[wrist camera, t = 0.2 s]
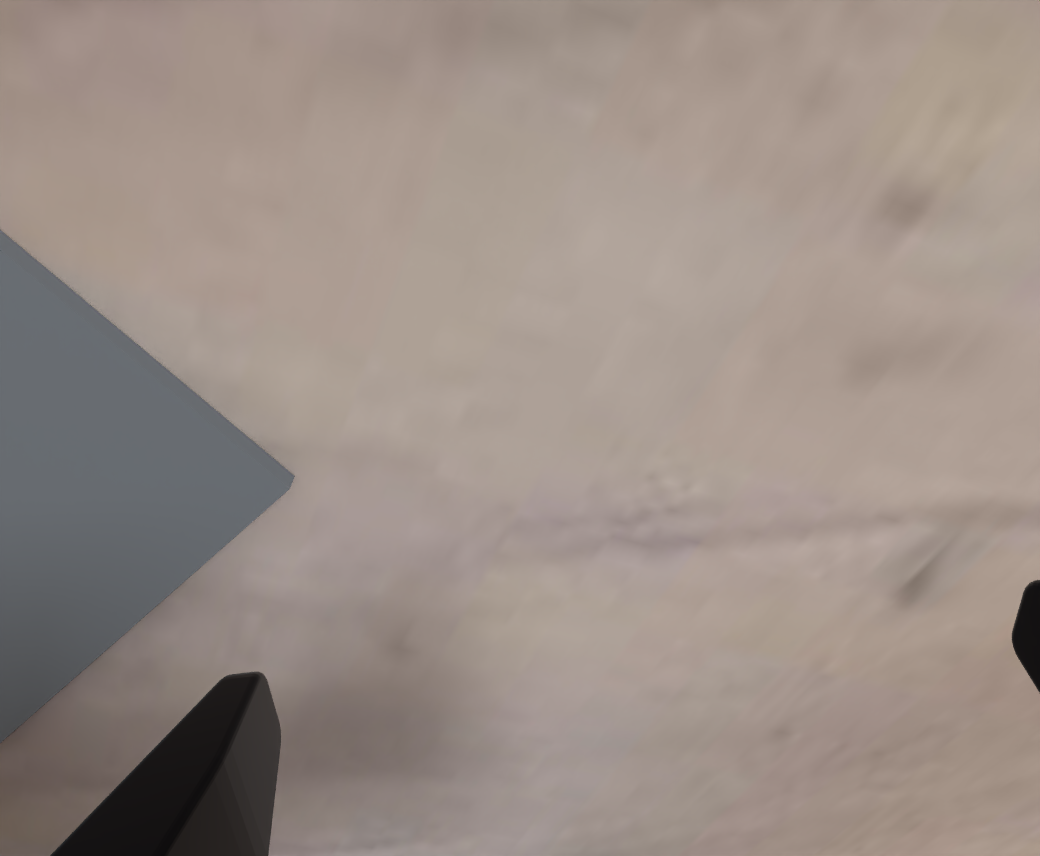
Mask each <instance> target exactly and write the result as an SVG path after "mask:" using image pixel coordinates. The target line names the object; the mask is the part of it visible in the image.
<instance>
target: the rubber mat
mask: <svg viewBox="0 0 1040 856" xmlns="http://www.w3.org/2000/svg"><path fill="white" fill-rule="evenodd" d="M294 477H295V476H294V475H293V474H291V473H290V472H289V471H288V470H287V469H286V468H284V467H283V466H282V465H281V464H280V463H278V462H277V461H276V460H275V459H274V458H272V457H271V456H270V455H269V454H268V453H266V452H265V451H264V450H263V449H262V448H260V447H259V446H258V445H257V444H256V443H254V442H253V441H252V440H251V439H250V438H248V437H247V436H246V435H245V434H244V433H242V432H241V431H240V430H239V429H238V428H236V427H235V426H234V425H233V424H232V423H231V422H229V421H228V420H227V419H226V418H225V417H223V416H222V415H221V414H220V413H219V412H217V411H216V410H215V409H214V408H213V407H211V406H210V405H209V404H208V403H207V402H205V401H204V400H203V399H202V398H201V397H199V396H198V395H197V394H196V393H195V392H193V391H192V390H191V389H190V388H189V387H187V386H186V385H185V384H184V383H183V382H182V381H180V380H179V379H178V378H177V377H176V376H174V375H173V374H172V373H171V372H170V371H168V370H167V369H166V368H165V367H164V366H162V365H161V364H160V363H159V362H158V361H156V360H155V359H154V358H153V357H152V356H150V355H149V354H148V353H147V352H146V351H144V350H143V349H142V348H141V347H140V346H138V345H137V344H136V343H135V342H134V341H132V340H131V339H130V338H129V337H128V336H127V335H125V334H124V333H123V332H122V331H121V330H119V329H118V328H117V327H116V326H115V325H113V324H112V323H111V322H110V321H109V320H107V319H106V318H105V317H104V316H103V315H101V314H100V313H99V312H98V311H97V310H95V309H94V308H93V307H92V306H91V305H89V304H88V303H87V302H86V301H85V300H83V299H82V298H81V297H80V296H79V295H77V294H76V293H75V292H74V291H73V290H72V289H70V288H69V287H68V286H67V285H66V284H64V283H63V282H62V281H61V280H60V279H58V278H57V277H56V276H55V275H54V274H52V273H51V272H50V271H49V270H48V269H46V268H45V267H44V266H43V265H42V264H40V263H39V262H38V261H37V260H36V259H34V258H33V257H32V256H31V255H30V254H28V253H27V252H26V251H25V250H24V249H22V248H21V247H20V246H19V245H18V244H17V243H15V242H14V241H13V240H12V239H11V238H9V237H8V236H7V235H6V234H5V233H3V232H2V231H1V230H0V743H1V742H2V741H3V740H4V739H5V738H7V737H8V736H9V735H10V734H11V733H12V732H13V731H15V730H16V729H17V728H18V727H19V726H20V725H21V724H23V723H24V722H25V721H26V720H27V719H28V718H29V717H31V716H32V715H33V714H34V713H35V712H36V711H37V710H38V709H40V708H41V707H42V706H43V705H44V704H45V703H46V702H48V701H49V700H50V699H51V698H52V697H53V696H54V695H56V694H57V693H58V692H59V691H60V690H61V689H62V688H64V687H65V686H66V685H67V684H68V683H69V682H70V681H72V680H73V679H74V678H75V677H76V676H77V675H78V674H79V673H81V672H82V671H83V670H84V669H85V668H86V667H87V666H89V665H90V664H91V663H92V662H93V661H94V660H95V659H97V658H98V657H99V656H100V655H101V654H102V653H103V652H105V651H106V650H107V649H108V648H109V647H110V646H111V645H112V644H114V643H115V642H116V641H117V640H118V639H119V638H120V637H122V636H123V635H124V634H125V633H126V632H127V631H128V630H130V629H131V628H132V627H133V626H134V625H135V624H136V623H138V622H139V621H140V620H141V619H142V618H143V617H144V616H145V615H147V614H148V613H149V612H150V611H151V610H152V609H153V608H155V607H156V606H157V605H158V604H159V603H160V602H161V601H163V600H164V599H165V598H166V597H167V596H168V595H169V594H171V593H172V592H173V591H174V590H175V589H176V588H177V587H178V586H180V585H181V584H182V583H183V582H184V581H185V580H186V579H188V578H189V577H190V576H191V575H192V574H193V573H194V572H196V571H197V570H198V569H199V568H200V567H201V566H202V565H204V564H205V563H206V562H207V561H208V560H209V559H210V558H211V557H213V556H214V555H215V554H216V553H217V552H218V551H219V550H221V549H222V548H223V547H224V546H225V545H226V544H227V543H229V542H230V541H231V540H232V539H233V538H234V537H235V536H237V535H238V534H239V533H240V532H241V531H242V530H243V529H244V528H246V527H247V526H248V525H249V524H250V523H251V522H252V521H254V520H255V519H256V518H257V517H258V516H259V515H260V514H262V513H263V512H264V511H265V510H266V509H267V508H268V507H270V506H271V505H272V504H273V503H274V502H275V501H276V500H277V499H279V498H280V497H281V496H282V495H283V494H284V493H285V492H287V491H288V490H289V489H290V487H291V484H292V482H293V479H294Z"/></svg>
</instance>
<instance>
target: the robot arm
mask: <svg viewBox="0 0 1040 856" xmlns="http://www.w3.org/2000/svg"><path fill="white" fill-rule="evenodd" d="M1012 643H1013V647H1014V650H1015V653H1016V655H1017V657H1018V658H1019V660H1020V662H1021V663H1022V665H1023V667H1024V668H1025V670H1026V671H1027V673H1028V675H1029V676H1030V678H1031V679H1032V681H1033V683H1034V684H1035V686H1036V688H1037V689H1038V691H1039V692H1040V580H1036V581H1033V582H1031V583H1029V584H1028V586H1027V587H1026V588H1025V590H1024V592H1023V596H1022V599H1021V603H1020V606H1019V610H1018V613H1017V617H1016V620H1015V624H1014V627H1013V631H1012ZM280 745H281V730H280V724H279V720H278V716H277V713H276V709H275V706H274V702H273V699H272V695H271V692H270V688H269V685H268V682H267V679H266V677H265V676H264V674H262V673H260V672H249V673H240V674H232V675H228V676H226V677H224V678H223V679H221V680H220V681H219V682H218V683H217V684H216V685H215V686H214V687H213V688H212V689H211V690H210V691H209V692H208V693H207V694H206V696H205V697H204V698H203V699H202V700H201V701H200V702H199V703H198V704H197V705H196V706H195V707H194V708H193V709H192V710H191V711H190V712H189V713H188V714H187V715H186V716H185V717H184V718H183V719H182V720H181V721H180V722H179V723H178V724H177V725H176V726H175V727H174V729H173V730H172V731H171V732H170V733H169V734H168V735H167V736H166V737H165V738H164V739H163V740H162V741H161V742H160V743H159V744H158V745H157V746H156V747H155V748H154V749H153V750H152V751H151V752H150V753H149V754H148V755H147V756H146V757H145V758H144V759H143V761H142V762H141V763H140V764H139V765H138V766H137V767H136V768H135V769H134V770H133V771H132V772H131V773H130V774H129V775H128V776H127V777H126V778H125V779H124V780H123V781H122V782H121V783H120V784H119V785H118V786H117V787H116V788H115V789H114V790H113V791H112V792H111V794H110V795H109V796H108V797H107V798H106V799H105V800H104V801H103V802H102V803H101V804H100V805H99V806H98V807H97V808H96V809H95V810H94V811H93V812H92V813H91V814H90V815H89V816H88V817H87V818H86V819H85V820H84V821H83V822H82V823H81V824H80V826H79V827H78V828H77V829H76V830H75V831H74V832H73V833H72V834H71V835H70V836H69V837H68V838H67V839H66V840H65V841H64V842H63V843H62V844H61V845H60V846H59V847H58V848H57V849H56V850H55V851H54V852H53V853H52V854H51V855H50V856H268V852H269V844H270V835H271V826H272V817H273V808H274V799H275V790H276V781H277V773H278V764H279V755H280Z"/></svg>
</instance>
